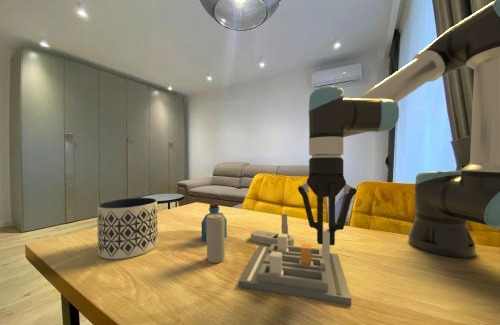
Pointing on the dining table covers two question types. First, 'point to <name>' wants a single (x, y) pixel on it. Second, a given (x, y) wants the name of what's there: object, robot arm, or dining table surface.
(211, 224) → the beverage can
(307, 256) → the block
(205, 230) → the perfume bottle
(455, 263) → the dining table surface
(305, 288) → the panel
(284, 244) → the breaker far
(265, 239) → the electronic device
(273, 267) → the block
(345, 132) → the robot arm
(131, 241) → the planter
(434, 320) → the dining table surface
